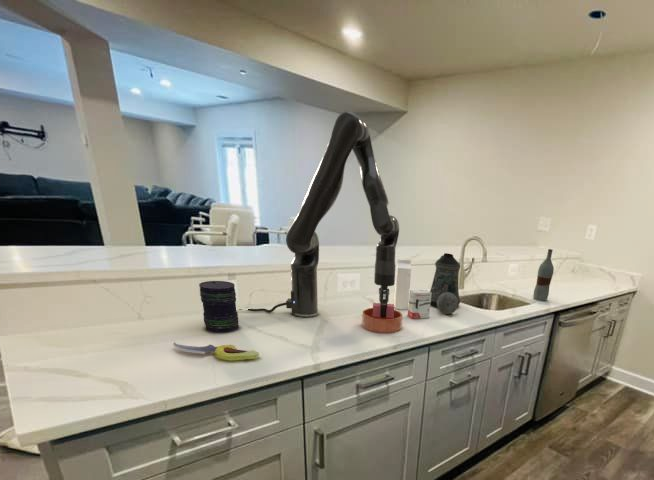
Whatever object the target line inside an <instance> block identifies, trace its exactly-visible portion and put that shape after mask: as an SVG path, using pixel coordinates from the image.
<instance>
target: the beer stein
mask: <svg viewBox="0 0 654 480" xmlns="http://www.w3.org/2000/svg"><path fill="white" fill-rule="evenodd" d="M434 265H435V271H434V275H433V280H432V284H431V286H430V292H431V293H432V294H431V303H430V307H431V308H432V307H433V308H436V309H438V307H437V299H438V297H439V296H440V295H441V294H443V293H446V292H449V293H452V294H454V295H455V296H456V297H457V299H458V307H457V309H458V308H459V305H460V302H461V298H460V293H459V291H460V290H459V271H460V269H461V264H460V263H459V262H458V260H457V259H456V258H455V257H454V254H452V253H448V252H444V253H443V255H441V256H440V258H438V259H437V260H436V261H435V263H434Z"/></svg>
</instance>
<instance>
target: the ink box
mask: <svg viewBox="0 0 654 480" xmlns="http://www.w3.org/2000/svg"><path fill="white" fill-rule="evenodd" d="M431 294H432V293H431V292H430V291H429V290H428V289H425V288H423V289H421V288H420V289H419V288H418V289H417V288H416V289H410V290H409V303H408V309H407V316H408V317H409V318H410V319H413V320H414V319H429V318H430V311H431V306H430V303H431Z"/></svg>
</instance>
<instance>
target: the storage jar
mask: <svg viewBox="0 0 654 480" xmlns="http://www.w3.org/2000/svg"><path fill="white" fill-rule="evenodd" d="M198 287H199V296H200V301H201V303H202V307H203V308H202V310H203V313H202V314H203V323H204V326H205V327H204V328H205V331H207V332H208V333H212V334H228V333H233V332H236V331H237V330H239V329H240V327H239V326H240V325H239V315H238V310H236V307H237V305H236V302H237V293H236V289H235V287H236V286H235V283H233V282H231V281H226V280H209V281H208V280H207V281H203V282H200V283H199V284H198Z"/></svg>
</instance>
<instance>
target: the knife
mask: <svg viewBox="0 0 654 480" xmlns="http://www.w3.org/2000/svg"><path fill="white" fill-rule="evenodd" d="M172 345H173V347H175V348H176V349H177V350H179V351H183V352H185V353H192V354H203V355H206V354H207V353H209V352H213V353H214V356H215V357H216V358H217V359H219V360H225V361H243V360H254V359H255V360H256V359H257V358H259V356H260V354H259V353H260V352H258V351H256V350H254V349H252V350H243V349H238V348H237V346H236V345H235V344H223V345H219V346H215V345H213V344H208V345H204V346H197V345H196V346H195V345H186V344H185V345H184V344H179V343H176V342H173V343H172Z"/></svg>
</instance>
